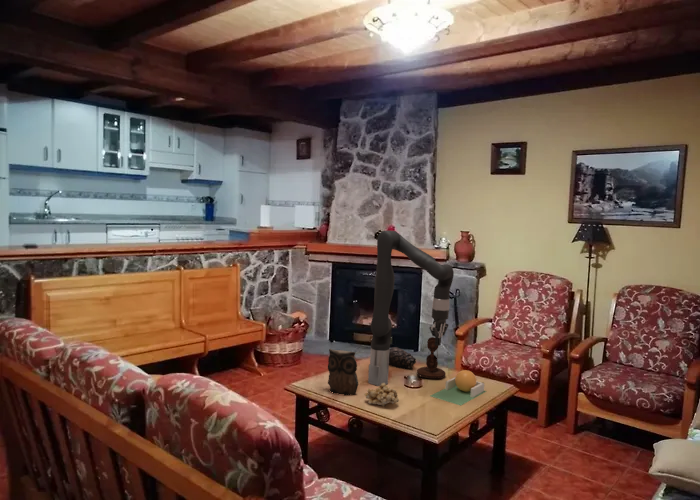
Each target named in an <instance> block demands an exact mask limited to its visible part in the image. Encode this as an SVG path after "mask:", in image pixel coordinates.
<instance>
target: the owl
mask: <svg viewBox="0 0 700 500" xmlns="http://www.w3.org/2000/svg"><path fill="white" fill-rule="evenodd" d="M328 352H329V357H328V360H327V361H328V364H327V369H328V373H329V374H328V379H327V385H329V388H330V389H329V390H330V391H331V392H330V391H329V392H330V393H332V392H333V393H332V394H334V393H338V395H339V394H344V395H343V396H356V395H357V391H358V386H359V380H358V375H357V371H358V363H357V360H356V356H355V355H356V352H354V351H349V350H342V349H341V350H340V349H339V350H338V349H337V350H336V349H332V348H329V350H328Z"/></svg>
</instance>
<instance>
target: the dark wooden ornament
mask: <svg viewBox="0 0 700 500" xmlns="http://www.w3.org/2000/svg"><path fill="white" fill-rule="evenodd" d="M426 346H427V349H428V350H429V352H430V354H429V355H427V356H426V359H425V360H426V361H425V364H426V366H422V367H419V368H417V369H416V374H417V375H418V376H420V378H421V377H422V379H423V378H427V379H439V381H440V380H441V381H442V378H445V377H446V371H445V370H444V369H442V368H440V367H438V365H439V360H438V358H439V357H438V356H439V351H438V349H439V346H436V345H435V337H434V336H430V337H429V338H428V339H427V341H426ZM435 352H436V355H435V354H434V353H435Z"/></svg>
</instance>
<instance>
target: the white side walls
mask: <svg viewBox="0 0 700 500" xmlns="http://www.w3.org/2000/svg"><path fill="white" fill-rule="evenodd" d="M455 378H456V376H454V377H452V378H450V379H448V380H446V381H445V388H444V389H445V390H449V389H451V388H453V387H455V386H456V383H455ZM476 381H477V380H476ZM484 391H485V383H484V382H481V381H477V382H476V386H475V387H473V388H471V395H470V397H472V398H473V397H475V396H477V395H478V394H480V393H482V392H484ZM477 397H478V396H477Z"/></svg>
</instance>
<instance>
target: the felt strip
mask: <svg viewBox="0 0 700 500" xmlns="http://www.w3.org/2000/svg"><path fill="white" fill-rule="evenodd" d="M486 392H487V390H484V392H482V393H480V394H478V395H477V396H475V397H473V398H472V397H470V395H471V391H468V392H464V391H461V390H460V389H459V388H458V387H457V386H455V387H453V388H451V389H449V390H445V388H443V389H441V390H440V391H436V392H434V393H432V394H431V395H429V397H431V398H435V399H439V400H441V401H444V402H448V403H451V404H454V405H458V406H459V407H460V406H463V405H465V404H467V403H468V402H470V401H472V400H474V399H476V398H477V397H479V396H481V395H483V394H484V393H486Z"/></svg>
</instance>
